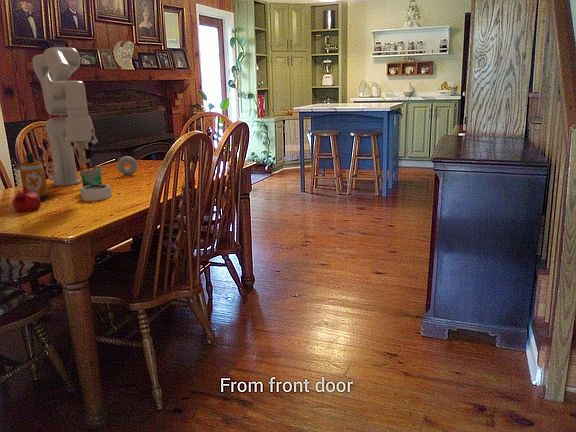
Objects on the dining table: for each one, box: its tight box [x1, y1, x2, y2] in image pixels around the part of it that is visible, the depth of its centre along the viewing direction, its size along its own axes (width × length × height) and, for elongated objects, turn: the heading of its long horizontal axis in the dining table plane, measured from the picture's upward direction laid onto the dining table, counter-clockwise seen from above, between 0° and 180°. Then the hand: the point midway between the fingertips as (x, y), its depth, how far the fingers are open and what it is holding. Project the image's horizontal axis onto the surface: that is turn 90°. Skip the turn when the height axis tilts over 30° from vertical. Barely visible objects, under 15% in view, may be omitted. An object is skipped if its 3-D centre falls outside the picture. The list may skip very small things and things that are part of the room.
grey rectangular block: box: [77, 142, 91, 164], centre depth 201 cm, size 3×3×9 cm
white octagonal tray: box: [79, 183, 113, 202], centre depth 208 cm, size 11×11×4 cm
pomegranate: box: [11, 186, 42, 213], centre depth 190 cm, size 10×10×9 cm
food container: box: [79, 166, 104, 187], centre depth 221 cm, size 12×6×10 cm, turn 168°
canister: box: [19, 152, 49, 202], centre depth 206 cm, size 9×11×20 cm
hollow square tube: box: [86, 183, 105, 190], centre depth 208 cm, size 6×6×4 cm
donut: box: [116, 155, 138, 176], centre depth 257 cm, size 10×4×10 cm, turn 109°
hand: (84, 158), depth 202 cm, fingers closed on grey rectangular block, 3 cm apart
